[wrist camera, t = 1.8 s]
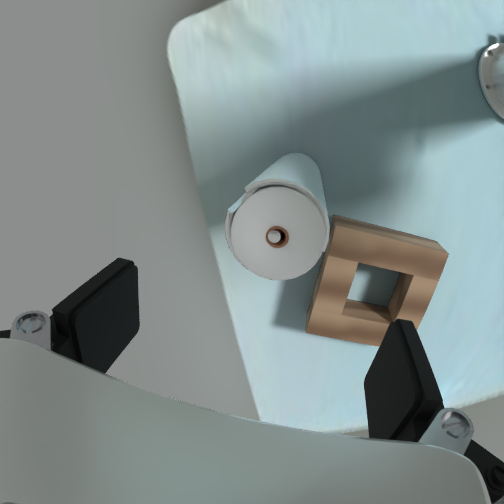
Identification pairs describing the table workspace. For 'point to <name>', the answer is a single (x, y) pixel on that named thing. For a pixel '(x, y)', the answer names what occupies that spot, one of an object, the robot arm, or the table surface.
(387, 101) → the table surface
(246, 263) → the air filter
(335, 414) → the table surface
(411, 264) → the socket block
